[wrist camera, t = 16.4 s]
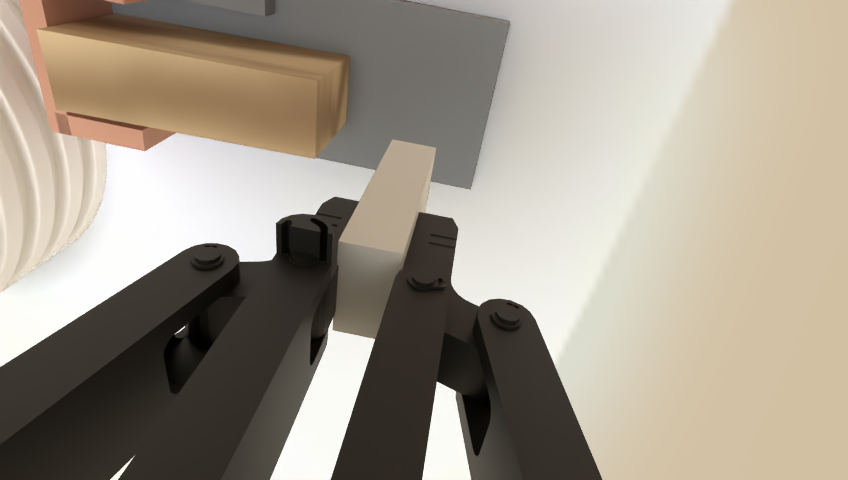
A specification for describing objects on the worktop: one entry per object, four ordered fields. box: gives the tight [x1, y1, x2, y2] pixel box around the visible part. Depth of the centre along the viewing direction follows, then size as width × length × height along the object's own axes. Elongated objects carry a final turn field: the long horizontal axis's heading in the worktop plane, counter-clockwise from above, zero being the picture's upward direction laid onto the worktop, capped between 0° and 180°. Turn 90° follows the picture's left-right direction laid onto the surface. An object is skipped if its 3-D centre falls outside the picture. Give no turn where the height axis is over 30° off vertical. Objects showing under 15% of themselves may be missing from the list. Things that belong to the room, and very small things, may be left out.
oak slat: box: [36, 14, 350, 159], centre depth 28 cm, size 4×14×6 cm, turn 82°
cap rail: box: [19, 0, 510, 190], centre depth 28 cm, size 10×24×6 cm, turn 81°
